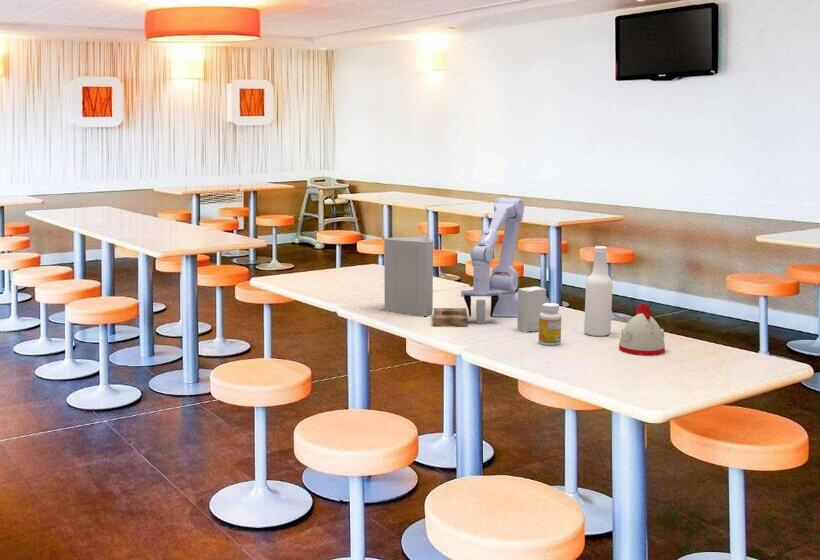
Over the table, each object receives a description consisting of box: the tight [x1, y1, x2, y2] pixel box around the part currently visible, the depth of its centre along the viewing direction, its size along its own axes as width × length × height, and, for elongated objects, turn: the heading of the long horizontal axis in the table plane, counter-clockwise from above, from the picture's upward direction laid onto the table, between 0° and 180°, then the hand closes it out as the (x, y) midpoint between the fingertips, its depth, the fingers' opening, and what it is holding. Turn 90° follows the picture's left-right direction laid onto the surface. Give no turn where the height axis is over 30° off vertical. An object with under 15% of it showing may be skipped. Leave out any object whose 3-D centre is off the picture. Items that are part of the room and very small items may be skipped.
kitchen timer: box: [618, 302, 666, 357], centre depth 272 cm, size 14×14×15 cm
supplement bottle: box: [538, 302, 562, 346], centre depth 281 cm, size 7×7×13 cm
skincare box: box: [517, 285, 547, 333], centre depth 299 cm, size 8×6×15 cm
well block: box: [433, 307, 469, 328], centre depth 314 cm, size 12×18×3 cm, turn 178°
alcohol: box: [583, 245, 613, 337], centre depth 293 cm, size 9×9×30 cm
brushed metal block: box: [475, 299, 486, 325], centre depth 311 cm, size 3×5×8 cm, turn 178°
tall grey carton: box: [383, 236, 434, 317], centre depth 330 cm, size 19×15×28 cm
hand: (480, 316), depth 312 cm, fingers open, 7 cm apart
